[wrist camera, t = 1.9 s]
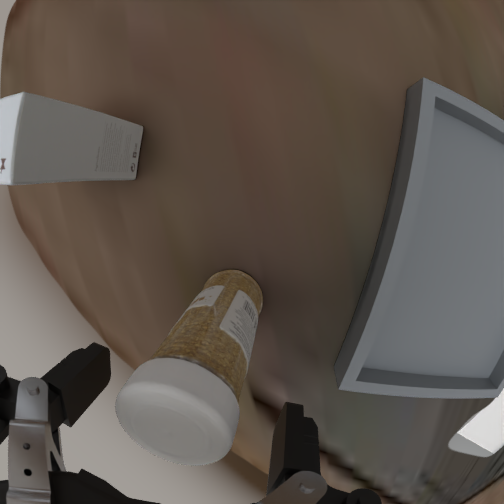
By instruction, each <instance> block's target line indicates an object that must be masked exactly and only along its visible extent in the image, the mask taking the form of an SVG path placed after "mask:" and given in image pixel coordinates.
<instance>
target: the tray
mask: <svg viewBox="0 0 504 504" xmlns="http://www.w3.org/2000/svg"><path fill="white" fill-rule="evenodd" d="M334 371H335V376H336V381H337V386H338V389H339V390H346V391H353V392H362V393H371V394H381V395H392V396H405V397H422V398H493V397H498V396H499V394H500V393H501V391H502V390H503V388H504V120H502V119H501V118H499V117H498V116H496V115H494V114H493V113H491V112H489V111H488V110H486V109H484V108H483V107H481V106H479V105H478V104H476V103H474V102H472V101H471V100H469V99H467V98H465V97H463V96H461V95H459V94H457V93H455V92H454V91H452V90H450V89H448V88H445V87H443V86H441V85H439V84H437V83H435V82H433V81H431V80H428V79H426V78H424V77H423V78H422V79H420V80H419V81H418V82H416V83H415V84H414V85H412V86H411V87H410V88H408V89H407V95H406V104H405V111H404V118H403V125H402V132H401V138H400V144H399V150H398V155H397V160H396V166H395V171H394V175H393V180H392V185H391V189H390V194H389V198H388V202H387V207H386V211H385V215H384V219H383V223H382V226H381V230H380V234H379V238H378V241H377V245H376V248H375V252H374V255H373V259H372V262H371V265H370V268H369V272H368V275H367V278H366V281H365V284H364V287H363V290H362V293H361V296H360V299H359V302H358V305H357V308H356V311H355V313H354V316H353V319H352V322H351V324H350V327H349V330H348V332H347V335H346V338H345V340H344V343H343V345H342V348H341V350H340V353H339V355H338V358H337V360H336V362H335V365H334Z"/></svg>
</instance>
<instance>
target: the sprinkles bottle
mask: <svg viewBox="0 0 504 504" xmlns="http://www.w3.org/2000/svg"><path fill="white" fill-rule="evenodd" d="M262 306H263V295H262V291H261V289H260V287H259V285H258V284H257V282H256V281H255V280H254V279H253V278H252V277H251V276H249V275H247V274H246V273H244V272H242V271H239V270H225V271H221V272H218V273H216V274H214V275H213V276H212V277H210V278H209V279H208V281H207V282H206V283H205V285H204V288H203V290H202V291H201V292H200V293H199V294H198V295H197V296H196V297H195V299H194V300H193V301H192V303H191V304H190V306H189V307H188V308H187V310H186V311H185V312H184V314H183V315H182V316H181V318H180V319H179V320H178V321H177V323H176V324H175V325H174V327H173V328H172V330H171V331H170V333H169V335H168V337H167V338H166V339H165V341H164V342H163V343H162V344H161V346H160V347H159V348H158V350H157V351H156V353H155V354H154V355H153V356H152V358H151V359H150V360H148V361H147V362H145V363H143V364H142V365H140V366H139V367H138V368H137V369H136V370H135V371H134V373H133V374H132V375H131V376H130V378H129V379H128V380H127V382H126V383H125V385H124V386H123V388H122V389H121V391H120V392H119V394H118V396H117V399H116V406H115V407H116V414H117V417H118V419H119V422H120V424H121V426H122V427H123V429H124V430H125V432H126V433H127V434H128V435H129V436H130V437H131V438H132V439H133V440H134V441H135V442H136V443H137V444H138V445H139V446H141V447H142V448H143V449H145V450H147V451H148V452H150V453H152V454H153V455H155V456H157V457H160V458H162V459H164V460H167V461H170V462H173V463H177V464H181V465H191V466H199V465H207V464H211V463H214V462H216V461H218V460H220V459H222V458H223V457H224V456H225V455H226V454H227V453H228V451H229V450H230V448H231V446H232V443H233V440H234V436H235V433H236V429H237V425H238V420H239V415H240V412H239V406H238V402H239V397H240V392H241V389H242V385H243V382H244V378H245V376H246V374H247V371H248V366H249V361H250V357H251V352H252V348H253V343H254V339H255V334H256V330H257V325H258V316H259V314H260V312H261V310H262Z"/></svg>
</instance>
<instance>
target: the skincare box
mask: <svg viewBox="0 0 504 504" xmlns="http://www.w3.org/2000/svg"><path fill="white" fill-rule="evenodd" d="M142 134H143V126H141V125H138V124H135V123H132V122H129V121H126V120H123V119H120V118H116V117H114V116H111V115H107V114H104V113H101V112H98V111H94V110H91V109H88V108H84V107H81V106H77V105H74V104H70V103H66V102H63V101H59V100H55V99H51V98H47V97H43V96H39V95H35V94H31V93H27V92H22V93H18V94H14V95H11V96H8V97H4V98H1V99H0V184H1V185H25V184H40V183H52V182H69V181H97V180H135V178H136V172H137V165H138V158H139V151H140V145H141V139H142Z"/></svg>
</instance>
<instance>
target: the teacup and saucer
mask: <svg viewBox="0 0 504 504" xmlns="http://www.w3.org/2000/svg"><path fill="white" fill-rule="evenodd" d="M457 433H458V434H460V435H461V436H463V437H465V438H467V439H468V440H470V441H472V442H474V443H475V444H477V445H479V446H481V447H483V448H484V449H486V450H488V451H490V452H492V453H493V454H494V453H496V452H497V451H498V450H499V449H500V448H501V447H502V446H504V388H503V390H502V391H501V393H500V394H499V396H498V397H496V398H495V399H494V400H493V402H492V403H491V404H489V405H488V406H487V407H486V408H484V409H483V410H481V411H480V412H479V413H478V414H477V415H476V416H475V417H474V418H473V419H472V420H471V421H470V422H469V423H468V424H466V425H465V426H464V427H463V428H462V429H461V430H460V431H459V432H457Z"/></svg>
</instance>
